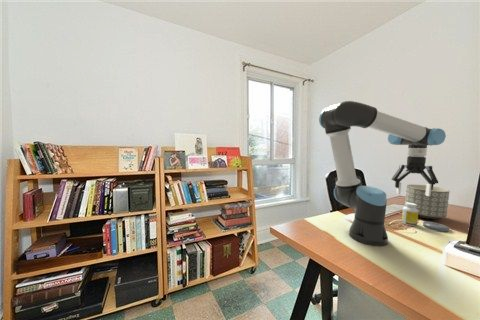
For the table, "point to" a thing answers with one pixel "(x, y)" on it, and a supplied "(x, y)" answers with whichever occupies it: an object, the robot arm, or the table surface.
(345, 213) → the table surface
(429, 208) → the planter
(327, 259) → the table surface
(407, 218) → the pill bottle
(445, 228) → the coaster
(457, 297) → the table surface
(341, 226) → the table surface
